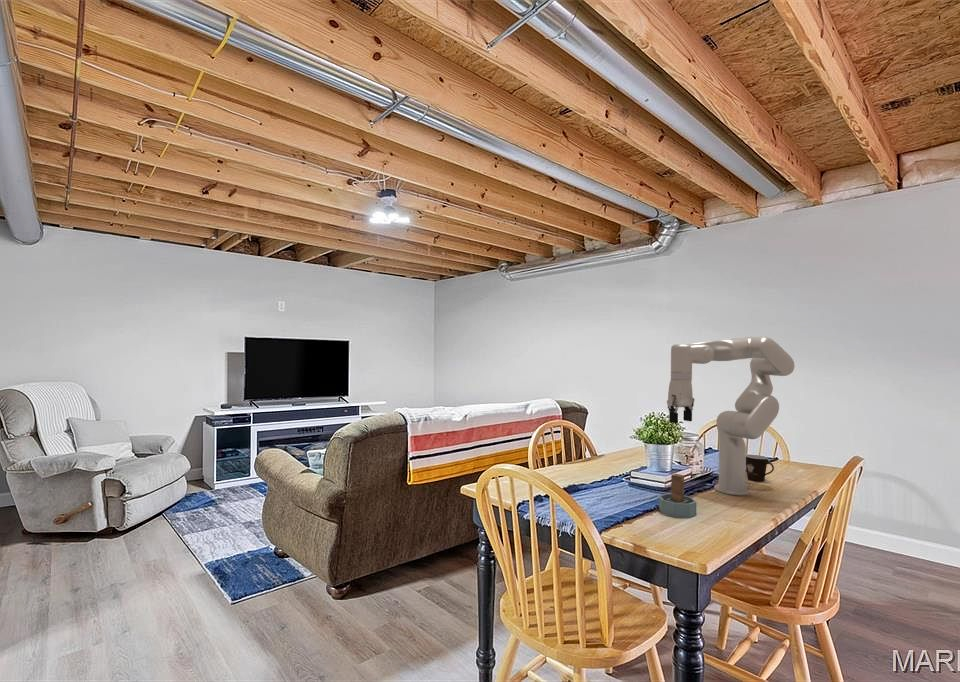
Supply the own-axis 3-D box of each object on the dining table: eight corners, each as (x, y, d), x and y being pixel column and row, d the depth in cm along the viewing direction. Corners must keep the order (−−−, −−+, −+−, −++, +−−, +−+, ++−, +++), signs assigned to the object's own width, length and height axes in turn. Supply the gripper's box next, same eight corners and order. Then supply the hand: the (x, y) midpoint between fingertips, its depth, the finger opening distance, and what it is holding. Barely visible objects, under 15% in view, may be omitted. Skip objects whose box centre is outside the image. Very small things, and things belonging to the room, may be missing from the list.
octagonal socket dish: (671, 504, 175) (671, 491, 175) (701, 513, 166) (701, 500, 166) (653, 510, 168) (653, 497, 168) (683, 519, 159) (683, 506, 159)
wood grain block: (675, 508, 169) (676, 473, 169) (683, 510, 167) (684, 475, 167) (671, 509, 167) (671, 474, 168) (679, 512, 165) (679, 476, 165)
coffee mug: (740, 477, 215) (741, 454, 215) (760, 477, 214) (760, 454, 214) (754, 484, 203) (754, 460, 203) (775, 485, 203) (775, 460, 203)
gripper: (684, 375, 193) (683, 418, 193) (659, 376, 183) (658, 422, 183) (702, 376, 187) (702, 421, 187) (677, 378, 177) (677, 425, 177)
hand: (680, 421), depth 185 cm, fingers open, 9 cm apart
